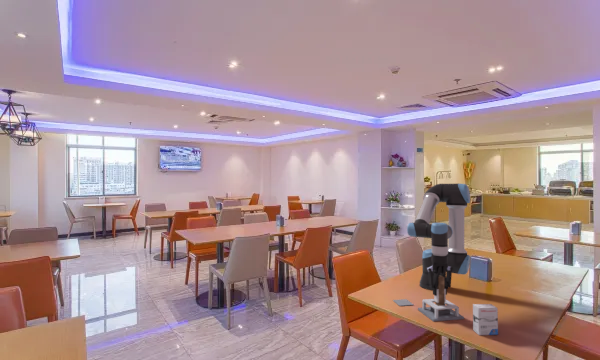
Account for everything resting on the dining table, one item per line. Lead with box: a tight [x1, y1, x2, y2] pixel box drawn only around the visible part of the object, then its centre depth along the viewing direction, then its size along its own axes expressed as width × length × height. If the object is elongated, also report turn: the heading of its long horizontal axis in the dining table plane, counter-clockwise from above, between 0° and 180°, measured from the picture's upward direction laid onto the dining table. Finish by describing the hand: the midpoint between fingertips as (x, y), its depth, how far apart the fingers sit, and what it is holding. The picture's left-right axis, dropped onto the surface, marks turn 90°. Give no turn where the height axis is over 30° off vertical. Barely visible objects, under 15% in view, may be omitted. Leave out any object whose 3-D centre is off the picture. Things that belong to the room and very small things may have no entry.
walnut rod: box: [434, 275, 446, 310], centre depth 159 cm, size 3×3×16 cm
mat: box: [392, 298, 414, 307], centre depth 175 cm, size 8×8×1 cm
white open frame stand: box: [417, 298, 465, 322], centre depth 160 cm, size 16×14×6 cm
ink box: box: [472, 303, 499, 336], centre depth 140 cm, size 8×5×12 cm, turn 92°
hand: (439, 301), depth 159 cm, fingers closed on walnut rod, 3 cm apart
